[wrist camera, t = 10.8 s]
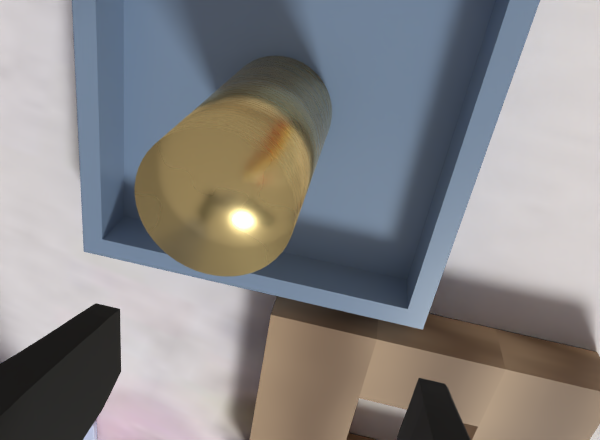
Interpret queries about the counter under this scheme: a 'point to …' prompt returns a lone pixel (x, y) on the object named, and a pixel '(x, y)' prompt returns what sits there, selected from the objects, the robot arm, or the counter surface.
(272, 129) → the pin
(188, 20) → the tray
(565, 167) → the counter surface
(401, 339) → the socket block
